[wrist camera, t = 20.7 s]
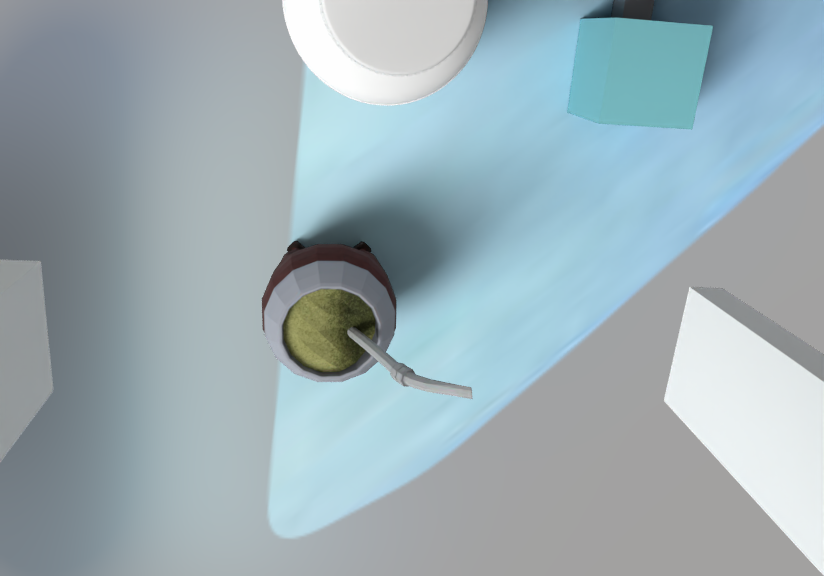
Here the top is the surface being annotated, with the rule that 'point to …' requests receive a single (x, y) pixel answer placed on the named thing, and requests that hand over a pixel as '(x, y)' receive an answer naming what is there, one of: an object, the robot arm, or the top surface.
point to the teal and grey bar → (638, 68)
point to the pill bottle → (385, 44)
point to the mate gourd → (336, 316)
